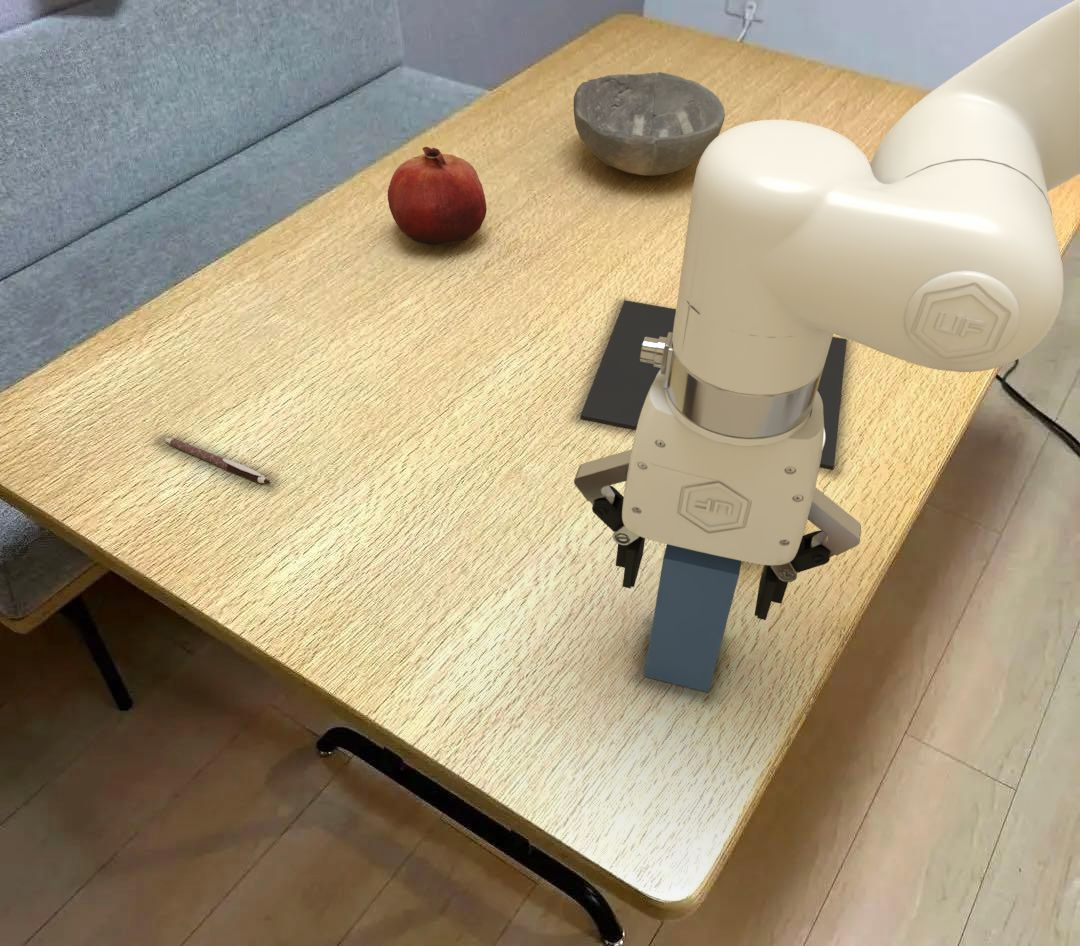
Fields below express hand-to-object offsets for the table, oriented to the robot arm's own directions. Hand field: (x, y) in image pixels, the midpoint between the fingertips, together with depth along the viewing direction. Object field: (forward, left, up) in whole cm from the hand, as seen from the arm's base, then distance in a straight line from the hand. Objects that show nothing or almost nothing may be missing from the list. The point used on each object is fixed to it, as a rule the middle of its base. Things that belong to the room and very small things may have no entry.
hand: (696, 585), depth 60 cm
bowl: (+17, -69, -9) cm, 72 cm away
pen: (+41, -8, -9) cm, 43 cm away
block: (0, 0, -8) cm, 8 cm away
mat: (+2, -31, -8) cm, 32 cm away
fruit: (+35, -46, -9) cm, 58 cm away
